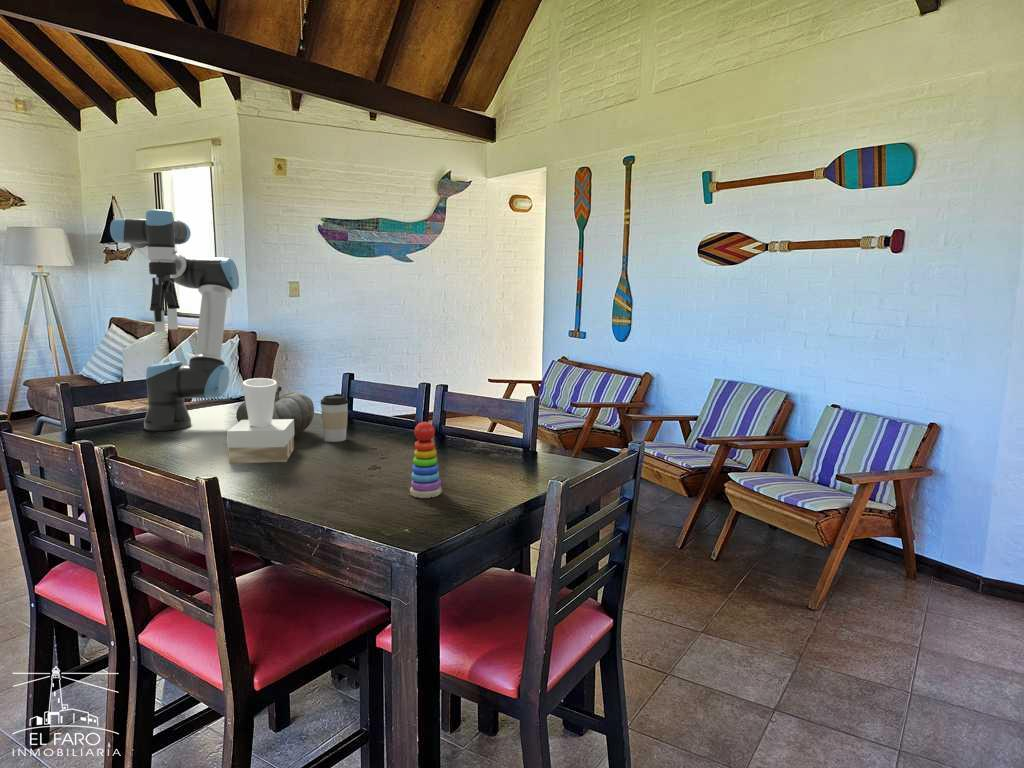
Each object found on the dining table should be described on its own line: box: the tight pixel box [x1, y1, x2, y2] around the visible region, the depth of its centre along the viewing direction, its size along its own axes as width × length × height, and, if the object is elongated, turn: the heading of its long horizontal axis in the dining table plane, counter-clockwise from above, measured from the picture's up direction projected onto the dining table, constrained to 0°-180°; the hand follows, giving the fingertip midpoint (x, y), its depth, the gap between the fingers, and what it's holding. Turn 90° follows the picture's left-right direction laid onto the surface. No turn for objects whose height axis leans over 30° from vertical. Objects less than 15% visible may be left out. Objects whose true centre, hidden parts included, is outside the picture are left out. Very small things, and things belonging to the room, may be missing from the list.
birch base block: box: [228, 436, 295, 465], centre depth 209 cm, size 16×16×5 cm
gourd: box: [236, 385, 315, 437], centre depth 234 cm, size 25×25×17 cm
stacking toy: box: [409, 421, 443, 499], centre depth 172 cm, size 8×8×19 cm
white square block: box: [226, 419, 295, 449], centre depth 208 cm, size 16×16×5 cm
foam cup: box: [242, 377, 278, 427], centre depth 206 cm, size 10×9×13 cm
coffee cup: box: [319, 393, 349, 443], centre depth 230 cm, size 9×9×15 cm
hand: (166, 331), depth 214 cm, fingers open, 13 cm apart
